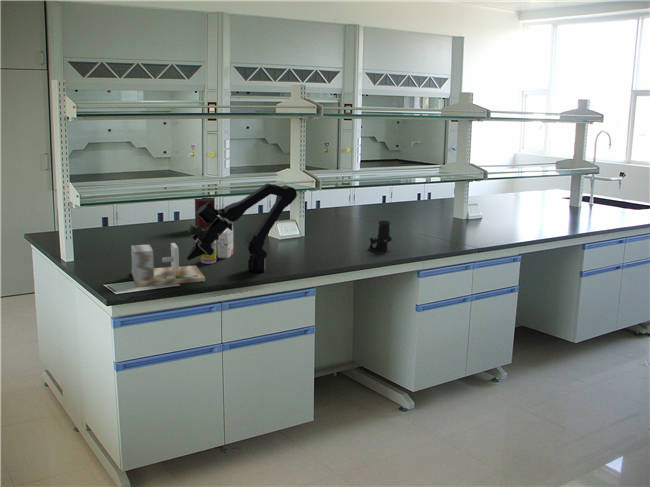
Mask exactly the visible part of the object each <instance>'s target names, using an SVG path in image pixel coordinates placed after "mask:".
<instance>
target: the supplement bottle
mask: <svg viewBox="0 0 650 487" xmlns="http://www.w3.org/2000/svg"><path fill="white" fill-rule="evenodd" d="M212 248H213V249H214V253H213V254H212V255H211V256H210V255H209V254H208V253H206V254H203V255H200V263H201V264H206V265H210V264H211V265H212V264H215V263H216V262H217V240H215V241H214V242H213V243H212Z"/></svg>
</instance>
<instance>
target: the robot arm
mask: <svg viewBox="0 0 650 487" xmlns="http://www.w3.org/2000/svg"><path fill="white" fill-rule="evenodd" d="M270 195H273V196H275V197H276V198H275V202H274V204H273V205H272V207H271V209H270V210H269V211H268V213H267V214H266V216H265V217H264V219H263V220H262V222H261V223H260V225H259V226H258V228H257V230H256V231H254V232H253V233H252V232H251V231H250V232H249V233H248V235H247V237H246V238H245V239H244V244H243V246H244V249H245V250H247V252H248V253H249V258H248V261H247V262H248V263H247V265H248V266H247V269H248V272H249V273H265V272H266V270H267V267H266V258H267V256H268V253H267V251H265V250H264V249H263V248H264V245H265V241H266V239H267V236H268V234H269V233H270V231H271V230H272V228H273V226H274V225H275V223H276V222H277V220H279V217H280V216H281V214H282V213H283V211H284V210H285V209H286V208H287V207H288V206H289V205H291V204H292V203H293V202H294V201H295V200H296V199H297V196H298V193H297V190H296V189H295V187H292V186H290V185H282V186H281V185H277V184H276V185H275V184H271V183H268V182H267V183H265V184H264V185H263V186H261V187H259V188H258V189H256V190H255V191H253V192H252V193H251V194H249V195H247V196H246V197H244V198H242V199H241V200H239V201H237V202H233V203H231V204H228V205H225V206H224V207H223V208H219V209H217V208H216V207H215V208H214V207H213V206H212V205H211V204H210V203H209V202H207V203H206V204H205V205H203V206H202V207H200V208H199V209H198V211H197V213H196V214H197V215H198V216H199V217H200V218H201V219H202V220H203V221H204V222H206V223H212V222H213V221H214V220H215V221H214V222H213V223H212V224H211V225H210V226H209V227H208V228H207V227H205V228H204V229H202V228H201V227H199V226H195V224H193V223H192V224H190V225H189V227H188V230H187V232H188V233H189V234H191V235H190V238H192V239H193V240H192V247H191V250H189V253H188V255H187V257H186V260H188V261H190V260H193V259H195V258H197V257H201V255H203V254H206V253H208V254H209V255H210V256H211V255H212V254H213V253H214V249H213V248H212V243H213V242H214V241H215V240H216V241H217V240H218V239H219V238H218V237H219V236H220V235H221V234H222V233H223V232H224V231H225V230H226V229H227V228H229V229H230V230H231V231H232V224H233V222H236V221H238V220H239V219H240V218H241V217H242V216H243V215H244V214H245V213H246V211H247V210H248V209H250V208H252V207H253V206H255V205H256V204H258V203H259V202H261V201H262V200H264V199H265V198H267V197H268V196H270ZM220 217H221V218H220ZM218 234H219V235H218Z"/></svg>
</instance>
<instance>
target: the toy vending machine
mask: <svg viewBox="0 0 650 487" xmlns="http://www.w3.org/2000/svg"><path fill="white" fill-rule="evenodd" d="M207 202H209V203H210V204H211V205H212V206H213V207H214V208H215V209H216V206H215V205H216V203H215V202H216V201H215V197H214V198H202V199H195V198H194V214H195V215H194V216H195V217H194V220H195V222H194V223H195V224H194V225H195V226H199V227H201V228H202V229H204V228H205V227H207V228H208V227H209V226H210V225H211V224H212V223H213V222H214V221H215V220H216V219H215V220H214V221H213V222H212V223H206V222H204V221H203V220H202V219H201V218H200V217H199V216H198V215H197V214H196V213H197V211H198V209H199V208H200V207H202V206H203V205H205V204H206V203H207Z"/></svg>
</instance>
